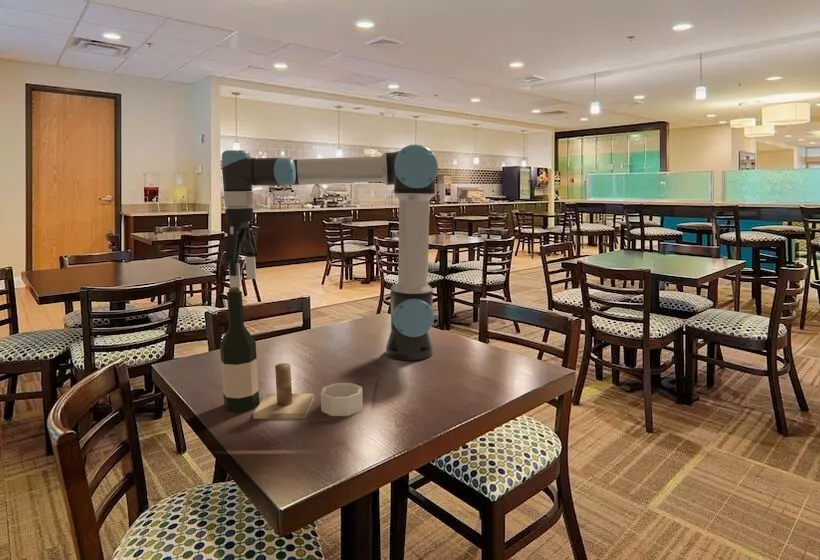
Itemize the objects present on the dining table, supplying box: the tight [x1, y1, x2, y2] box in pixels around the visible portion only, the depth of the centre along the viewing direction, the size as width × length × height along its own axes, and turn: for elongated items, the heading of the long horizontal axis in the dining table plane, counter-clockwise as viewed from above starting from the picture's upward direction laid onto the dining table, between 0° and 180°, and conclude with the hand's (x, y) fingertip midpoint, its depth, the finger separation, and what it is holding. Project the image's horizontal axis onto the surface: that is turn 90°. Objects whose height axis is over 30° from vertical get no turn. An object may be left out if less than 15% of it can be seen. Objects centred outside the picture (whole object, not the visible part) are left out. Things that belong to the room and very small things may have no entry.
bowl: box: [320, 382, 364, 417], centre depth 130 cm, size 10×10×5 cm
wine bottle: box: [219, 287, 260, 414], centre depth 130 cm, size 8×8×30 cm
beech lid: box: [252, 362, 315, 419], centre depth 130 cm, size 12×12×11 cm
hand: (243, 282), depth 153 cm, fingers open, 13 cm apart
